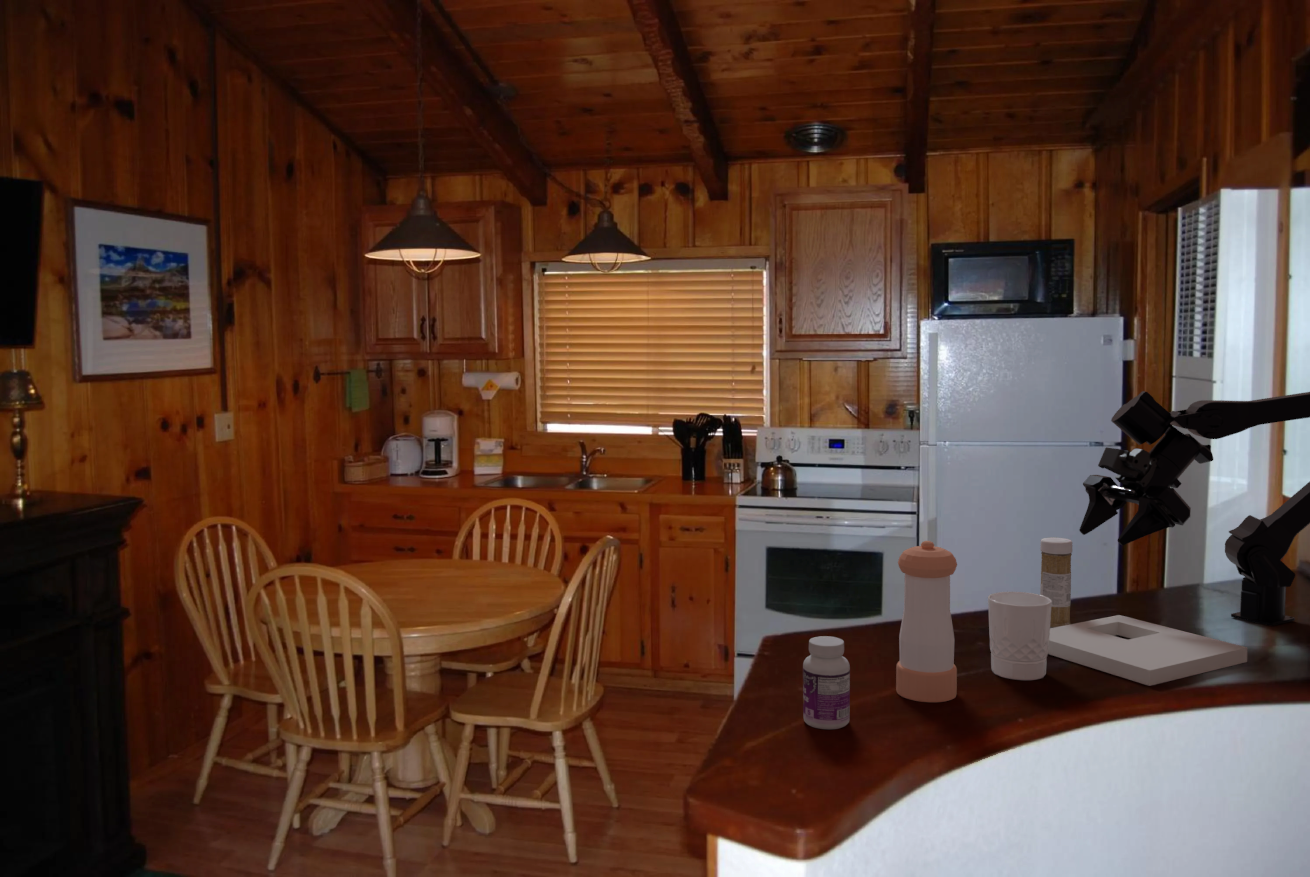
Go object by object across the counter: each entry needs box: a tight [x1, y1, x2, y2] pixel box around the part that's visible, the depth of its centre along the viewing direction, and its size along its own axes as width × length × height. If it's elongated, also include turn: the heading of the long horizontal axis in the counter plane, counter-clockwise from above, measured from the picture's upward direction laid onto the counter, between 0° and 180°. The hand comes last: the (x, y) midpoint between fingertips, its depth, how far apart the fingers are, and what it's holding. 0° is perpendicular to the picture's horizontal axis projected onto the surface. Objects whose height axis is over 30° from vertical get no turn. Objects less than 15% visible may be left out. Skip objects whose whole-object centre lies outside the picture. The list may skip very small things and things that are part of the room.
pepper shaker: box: [895, 540, 958, 703], centre depth 127 cm, size 7×7×19 cm
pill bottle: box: [802, 635, 851, 730], centre depth 118 cm, size 5×5×10 cm
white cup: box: [987, 591, 1052, 681], centre depth 135 cm, size 8×8×10 cm
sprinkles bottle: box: [1039, 536, 1073, 628], centre depth 157 cm, size 5×5×14 cm
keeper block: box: [1048, 614, 1248, 686], centre depth 142 cm, size 20×20×2 cm
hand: (1100, 537), depth 159 cm, fingers open, 9 cm apart
